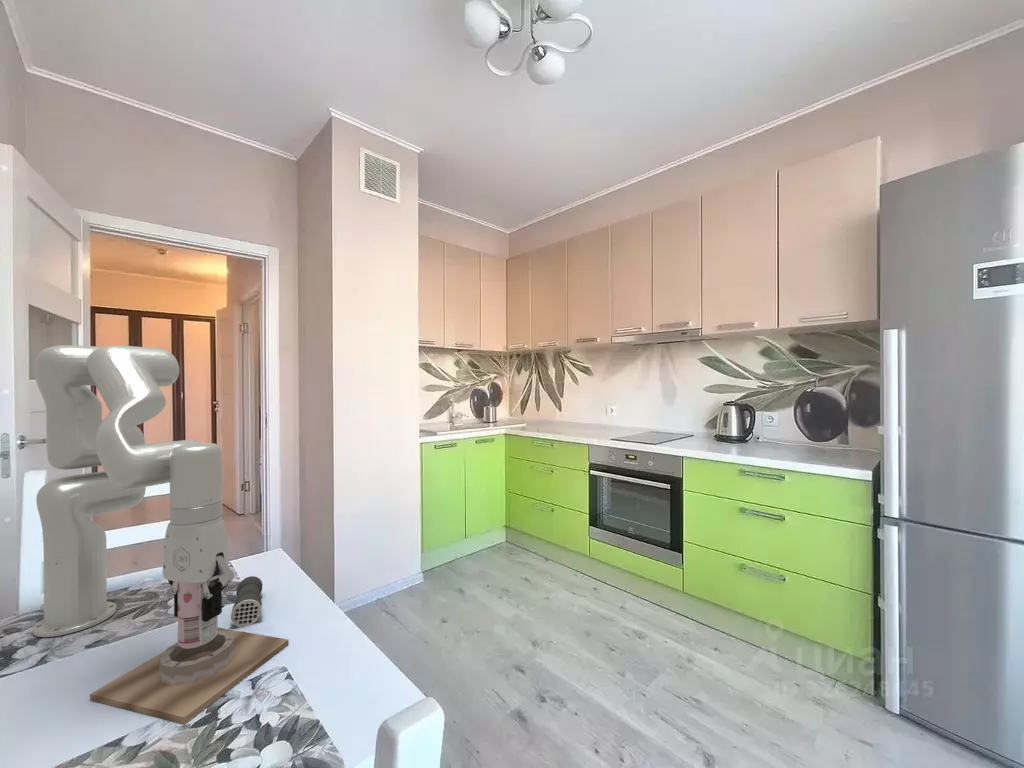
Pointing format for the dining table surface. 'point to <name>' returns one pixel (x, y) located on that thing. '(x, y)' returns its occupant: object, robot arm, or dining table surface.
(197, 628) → the beverage can
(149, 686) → the socket board
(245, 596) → the flashlight
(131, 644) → the dining table surface
